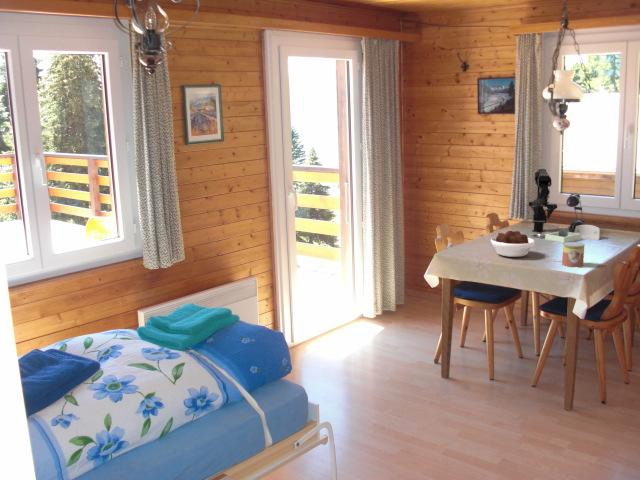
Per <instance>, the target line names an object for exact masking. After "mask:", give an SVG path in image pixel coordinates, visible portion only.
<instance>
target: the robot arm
mask: <svg viewBox="0 0 640 480" xmlns="http://www.w3.org/2000/svg"><path fill="white" fill-rule="evenodd" d="M533 176H534V177H533V180H534V183H535V186H536V187H537V189H536V190H537V191H536V192H537V193H536V199H534V200H532V201H529V202H528V207H530V208H531V209H532V211H533V214H532V223H533V230H531V231H532V232H535V233H544V232H545V230H544V227H545V226H544V224H546V223H547V222H548V221H547V220H549V219H550V217H551V216H552V214H553V212H554V210H556V209H558V204H557V203H550V202H549V201H548V198H550V188H549V187H551V186H552V177H551V176H550V175H549V173H548V172H547V169H545V168H538V170H537V171H536V172H535V173H534V175H533ZM544 207H545V208H546V210H545V208H544ZM546 211H547V214H546Z"/></svg>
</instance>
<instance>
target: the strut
mask: <svg viewBox="0 0 640 480" xmlns="http://www.w3.org/2000/svg"><path fill="white" fill-rule="evenodd" d="M558 232H559V236H561V237H566V236H568V232H569V226H566V225H560V226H558Z"/></svg>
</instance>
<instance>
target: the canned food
mask: <svg viewBox="0 0 640 480" xmlns="http://www.w3.org/2000/svg"><path fill="white" fill-rule="evenodd" d="M561 257H562V259H561V266H563V265H564V266H563V267H566V266H567V267H566V268H573V267H578V268H582V267H581V266H583V267H584V259H585V258H584V257H585V243H582V242H578V241H574V242H565V243H562V256H561Z"/></svg>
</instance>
